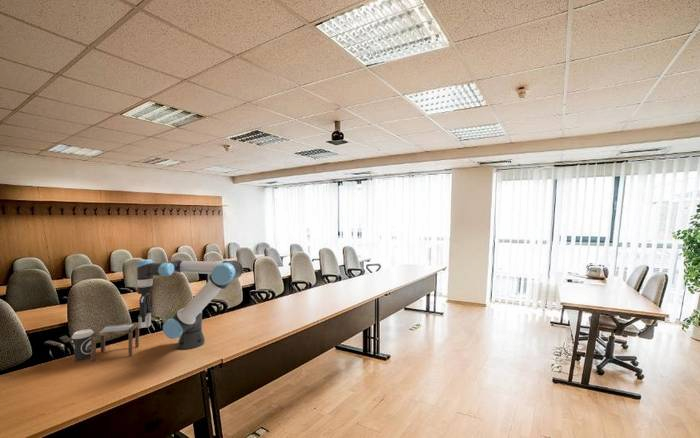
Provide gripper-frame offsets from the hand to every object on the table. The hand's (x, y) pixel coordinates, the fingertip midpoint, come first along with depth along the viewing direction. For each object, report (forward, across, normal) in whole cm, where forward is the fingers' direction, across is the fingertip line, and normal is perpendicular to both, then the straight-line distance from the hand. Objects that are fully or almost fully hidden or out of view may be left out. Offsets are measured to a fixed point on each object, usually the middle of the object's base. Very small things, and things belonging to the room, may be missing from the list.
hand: (145, 325), depth 172 cm
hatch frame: (+16, -5, -16) cm, 23 cm away
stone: (0, 0, 0) cm, 0 cm away
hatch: (+2, -5, -16) cm, 17 cm away
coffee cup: (+16, -5, -31) cm, 35 cm away
